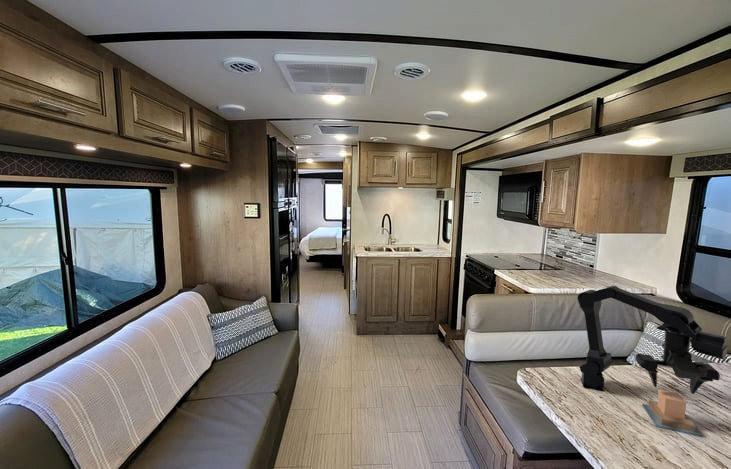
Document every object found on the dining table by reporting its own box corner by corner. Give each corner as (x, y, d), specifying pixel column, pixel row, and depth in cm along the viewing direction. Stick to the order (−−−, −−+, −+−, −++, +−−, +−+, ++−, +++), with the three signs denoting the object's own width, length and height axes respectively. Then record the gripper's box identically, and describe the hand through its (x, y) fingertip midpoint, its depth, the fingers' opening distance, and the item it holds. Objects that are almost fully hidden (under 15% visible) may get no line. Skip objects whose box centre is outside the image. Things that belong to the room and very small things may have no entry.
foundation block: (656, 426, 97) (656, 418, 97) (642, 405, 107) (642, 398, 106) (702, 437, 92) (703, 428, 92) (683, 414, 102) (684, 406, 102)
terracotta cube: (664, 414, 98) (665, 398, 97) (657, 405, 102) (658, 389, 102) (684, 419, 96) (686, 402, 95) (676, 409, 100) (678, 393, 100)
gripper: (649, 352, 93) (646, 397, 95) (734, 364, 85) (729, 413, 87) (636, 337, 103) (633, 378, 105) (710, 346, 95) (706, 391, 97)
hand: (673, 389), depth 98 cm, fingers open, 9 cm apart
